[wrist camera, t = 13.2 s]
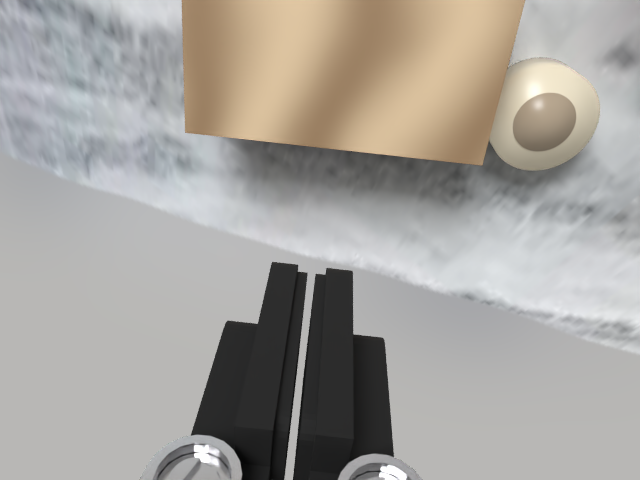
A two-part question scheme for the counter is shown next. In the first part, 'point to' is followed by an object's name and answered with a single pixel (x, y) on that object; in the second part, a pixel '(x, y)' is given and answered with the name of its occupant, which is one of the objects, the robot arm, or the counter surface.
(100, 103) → the counter surface
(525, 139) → the cream short cylinder
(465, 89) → the tan wooden cover
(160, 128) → the counter surface
